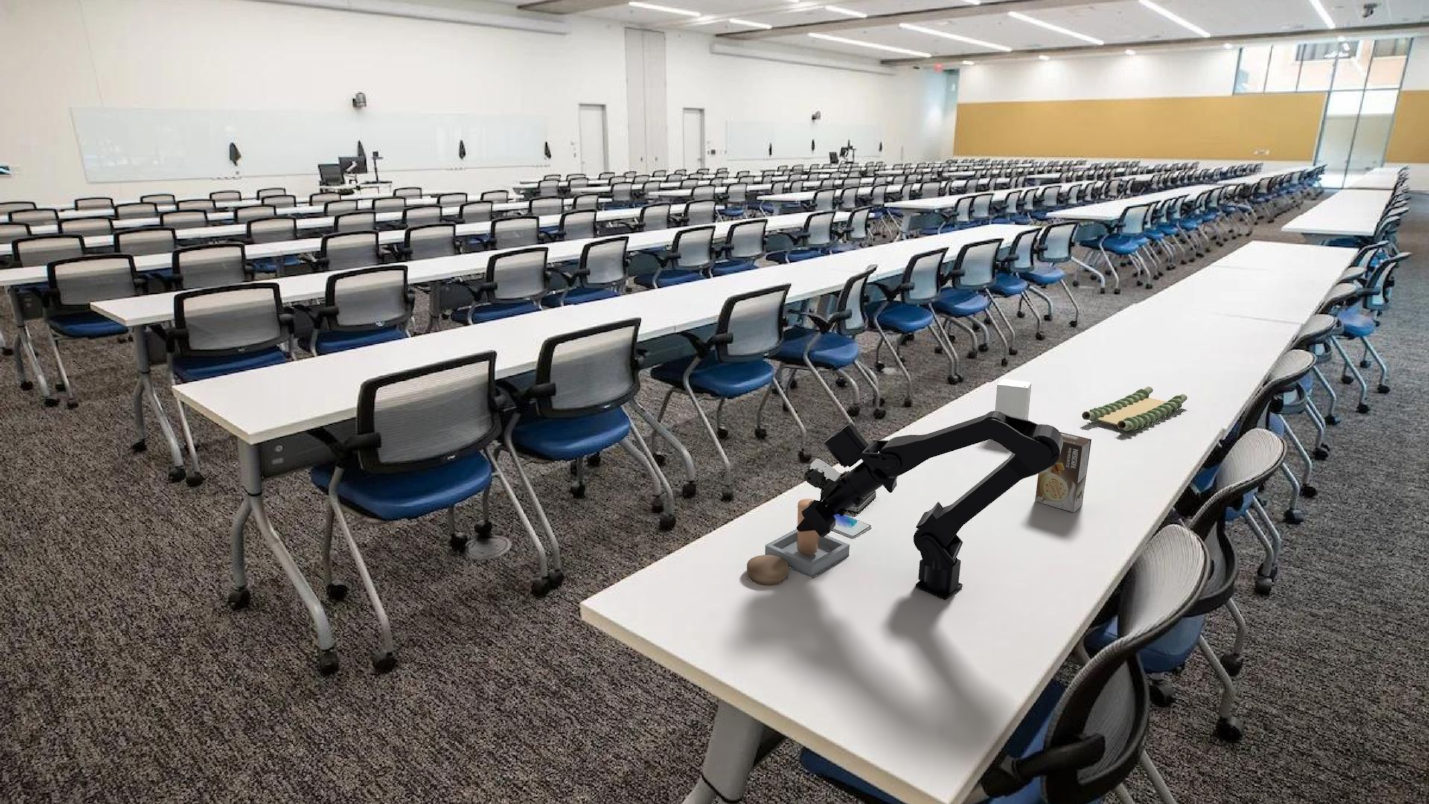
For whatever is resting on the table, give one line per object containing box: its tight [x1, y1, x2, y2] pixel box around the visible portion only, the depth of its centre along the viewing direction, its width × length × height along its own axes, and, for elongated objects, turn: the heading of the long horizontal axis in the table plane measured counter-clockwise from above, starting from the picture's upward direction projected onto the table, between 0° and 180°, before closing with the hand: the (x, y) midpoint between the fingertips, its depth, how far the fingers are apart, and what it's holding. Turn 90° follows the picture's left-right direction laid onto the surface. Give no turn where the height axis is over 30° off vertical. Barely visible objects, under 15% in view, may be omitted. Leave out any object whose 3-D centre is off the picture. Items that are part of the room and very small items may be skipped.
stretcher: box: [1081, 386, 1188, 432], centre depth 238 cm, size 41×14×5 cm, turn 128°
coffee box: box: [1034, 431, 1093, 513], centre depth 180 cm, size 9×6×16 cm
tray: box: [764, 528, 851, 579], centre depth 159 cm, size 12×12×2 cm
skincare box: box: [994, 378, 1032, 420], centre depth 222 cm, size 8×7×16 cm
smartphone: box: [832, 514, 872, 539], centre depth 174 cm, size 7×1×15 cm
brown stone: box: [746, 554, 789, 586], centre depth 153 cm, size 8×8×2 cm
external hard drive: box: [846, 490, 877, 515], centre depth 183 cm, size 7×11×2 cm, turn 147°
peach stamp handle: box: [796, 498, 819, 554], centre depth 158 cm, size 4×4×10 cm
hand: (802, 524), depth 158 cm, fingers closed on peach stamp handle, 4 cm apart
